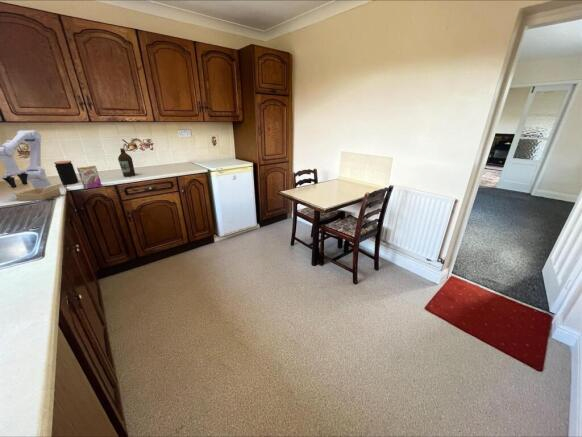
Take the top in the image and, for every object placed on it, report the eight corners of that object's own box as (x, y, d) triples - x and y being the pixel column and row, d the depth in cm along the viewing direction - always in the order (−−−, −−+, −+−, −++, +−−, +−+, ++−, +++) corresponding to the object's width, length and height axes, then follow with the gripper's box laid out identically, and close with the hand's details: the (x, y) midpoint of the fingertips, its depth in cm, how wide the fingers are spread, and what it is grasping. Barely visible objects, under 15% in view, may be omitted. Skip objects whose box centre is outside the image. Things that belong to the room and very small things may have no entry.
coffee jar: (82, 182, 207) (74, 160, 200) (68, 185, 197) (60, 163, 190) (72, 181, 210) (65, 160, 202) (59, 184, 200) (50, 162, 193)
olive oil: (126, 174, 231) (118, 147, 221) (138, 174, 232) (131, 147, 222) (120, 177, 221) (112, 149, 212) (133, 177, 223) (125, 149, 213)
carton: (38, 194, 174) (35, 188, 172) (61, 194, 175) (58, 188, 173) (18, 201, 161) (15, 194, 160) (43, 200, 162) (41, 194, 160)
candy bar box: (85, 189, 186) (77, 168, 180) (83, 188, 189) (76, 167, 183) (102, 186, 194) (95, 165, 188) (100, 185, 197) (93, 165, 191)
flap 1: (34, 188, 172) (34, 188, 172) (26, 182, 170) (25, 182, 170) (16, 193, 160) (15, 194, 160) (6, 187, 158) (6, 187, 158)
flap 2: (62, 182, 171) (62, 182, 171) (58, 187, 172) (58, 188, 172) (45, 187, 159) (46, 187, 159) (41, 193, 160) (41, 193, 160)
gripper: (5, 167, 152) (15, 188, 158) (27, 163, 166) (36, 183, 171) (-6, 168, 152) (4, 189, 157) (17, 163, 166) (25, 183, 171)
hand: (20, 186), depth 164 cm, fingers open, 7 cm apart
